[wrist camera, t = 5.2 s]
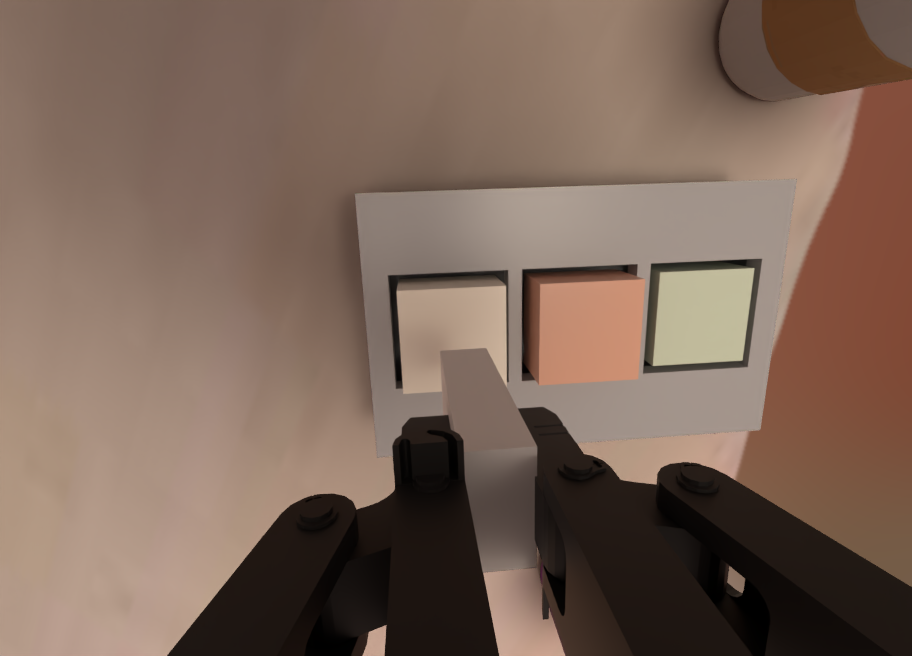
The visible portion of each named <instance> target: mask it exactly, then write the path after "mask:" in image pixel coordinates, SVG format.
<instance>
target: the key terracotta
mask: <svg viewBox="0 0 912 656" xmlns="http://www.w3.org/2000/svg"><path fill="white" fill-rule="evenodd" d="M644 291H645V279H643V278H640V277H637V276H634V275H632V274H629V273H626V272H623V271H620V270H617V269H608V270H587V271H565V272H543V273H524V364H525V365H526V367H527V368H528V370H529V371H530V373H531V374H532V376H533V377H534V379H535V380H536V382H537V383H538V385H555V384H571V383H587V382H603V381H619V380H635V379H638V375H639V361H640V347H641V333H642V319H643V305H644Z"/></svg>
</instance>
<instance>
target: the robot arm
mask: <svg viewBox="0 0 912 656" xmlns="http://www.w3.org/2000/svg"><path fill="white" fill-rule="evenodd" d="M440 361H441V382H442V403H443V415H440V416H425V417H411V418H410V419H409V420H408V421H407V422H406V423H405V424H404V425H403V426H402V434H401V435H400V436H399V437H397V438H396V439H395V441H394V443H393V445H392V451H393V464H394V476H395V490H394V492H393V493H392V494H390V495H389V496H388V497H387V498H385V499H383V500H382V501H380V502H378V503H375V504H373V505H370V506H367V507H364V508H360V509H357V510H356V508H355V505H354V503H353V501H351V500H350V499H348V498H347V497H345V496H342V495H337V494H318V495H314V496H310V497H307V498H304V499H302V500H300V501H298V502H296V503H294V504H292V505H290V506H289V507H288V508H287V509H286V510H285V511H284V512H283V513H281V515H280V516H279V517H278V518H277V520H276V521H275V522H274V523H273V525H272V526H271V527H270V528H269V530H268V531H267V532H266V533H265V534H264V536H263V537H262V538H261V539H260V541H259V542H258V543H257V544H256V546H255V547H254V548H253V549H252V551H251V552H250V553H249V554H248V556H247V557H246V558H245V559H244V561H243V562H242V563H241V564H240V566H239V567H238V568H237V569H236V571H235V572H234V573H233V574H232V576H231V577H230V578H229V579H228V581H227V582H226V583H225V584H224V585H223V587H222V588H221V589H220V590H219V592H218V593H217V594H216V595H215V597H214V598H213V599H212V600H211V602H210V603H209V604H208V605H207V607H206V608H205V609H204V610H203V612H202V613H201V614H200V615H199V617H198V618H197V619H196V620H195V622H194V623H193V624H192V625H191V627H190V628H189V629H188V630H187V632H186V633H185V634H184V635H183V637H182V638H181V639H180V640H179V641H178V643H177V644H176V645H175V646H174V648H173V649H172V650H171V651H170V653H169V654H168V655H167V656H362V655H363V653H364V650H365V647H366V645H367V639H368V633H369V632H370V631H372V630H374V629H377V628H379V627H382V626H384V625H387V627H386V643H385V656H499V653H498V648H497V643H496V637H495V632H494V627H493V622H492V617H491V612H490V606H489V601H488V596H487V591H486V586H485V581H484V575H483V573H485V572H495V571H505V570H516V569H526V568H536V566H537V547H538V550H539V553H540V556H541V558H542V561H543V571H542V614H543V620H544V619H549V607H550V609H551V612H552V614H553V617H554V620H555V623H556V626H557V629H558V632H559V635H560V638H561V641H562V644H563V647H564V650H565V653H566V656H912V587H911V586H909V585H907V584H905V583H904V582H902V581H901V580H899V579H897V578H896V577H894V576H892V575H891V574H889V573H887V572H886V571H884V570H882V569H881V568H879V567H878V566H876V565H874V564H872V563H871V562H869V561H868V560H866V559H864V558H863V557H861V556H859V555H858V554H856V553H854V552H853V551H851V550H849V549H848V548H846V547H844V546H843V545H841V544H839V543H838V542H836V541H834V540H833V539H831V538H830V537H828V536H826V535H825V534H823V533H821V532H820V531H818V530H816V529H815V528H813V527H811V526H810V525H808V524H806V523H805V522H803V521H801V520H800V519H798V518H796V517H795V516H793V515H792V514H790V513H788V512H787V511H785V510H783V509H782V508H780V507H778V506H777V505H775V504H773V503H772V502H770V501H768V500H767V499H765V498H763V497H762V496H760V495H759V494H757V493H755V492H754V491H752V490H750V489H749V488H747V487H745V486H743V485H742V484H740V483H739V482H737V481H735V480H734V479H732V478H730V477H729V476H727V475H725V474H723V473H721V472H719V471H717V470H715V469H713V468H710V467H706V466H702V465H701V464H697V463H689V462H682V463H675V464H669V465H667V466H664V467H662V468H661V469H660V471H659V472H658V474H657V485H655V484H646V483H636V482H629V481H623V480H620V479H619V477H618V476H617V475H616V473H615V472H614V471H613V469H612V468H611V467H610V466H609V465H608V464H607V463H605V462H604V461H603V460H600V459H598V458H596V457H594V456H590V455H585V454H584V453H583V452H582V451H581V449H580V448H579V446H578V445H577V443H576V442H575V440H574V439H573V438H572V436H571V435H570V434H569V432H568V430H567V429H566V427H565V426H563V423H562V422H561V420H560V419H559V417H558V416H557V414H555V413H553V412H552V411H550V410H548V409H546V408H545V407H532V408H517V406H516V404H515V403H514V401H513V399H512V397H511V395H510V393H509V391H508V389H507V387H506V385H505V383H504V381H503V379H502V377H501V375H500V374H499V372H498V370H497V368H496V366H495V364H494V362H493V360H492V358H491V356H490V354H489V352H488V350H487V348H476V349H460V350H443V351H440ZM729 566H731V567H732V568H733V569H734V570H735V571H737V572H738V573H739V574H740V575H742V576H743V577H744V578H745V586H744V591H743V593H740V592H739V591H737V590H735V589H734V588H733V587H732V586H731V585H729V584H728V583H727V579H728V571H729Z"/></svg>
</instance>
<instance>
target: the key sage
mask: <svg viewBox="0 0 912 656" xmlns="http://www.w3.org/2000/svg"><path fill="white" fill-rule="evenodd" d="M754 269H755V268H752V267H747V266H741V265H736V264H731V263H726V262H721V261H696V262H674V263H651V270H650V284H649V298H648V311H647V325H646V338H645V352H644V360H645V361H646V362H648V363H649V364H651V365H652V366H661V365H678V364H694V363H711V362H727V361H742V360H743V353H744V345H745V337H746V330H747V322H748V314H749V307H750V299H751V291H752V284H753V276H754Z"/></svg>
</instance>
